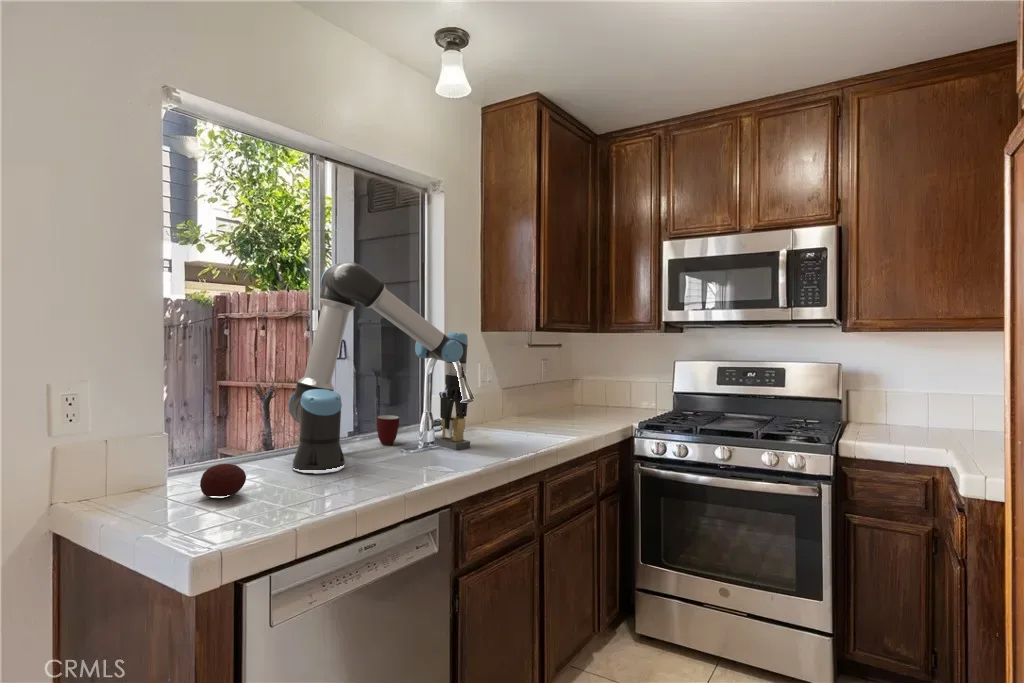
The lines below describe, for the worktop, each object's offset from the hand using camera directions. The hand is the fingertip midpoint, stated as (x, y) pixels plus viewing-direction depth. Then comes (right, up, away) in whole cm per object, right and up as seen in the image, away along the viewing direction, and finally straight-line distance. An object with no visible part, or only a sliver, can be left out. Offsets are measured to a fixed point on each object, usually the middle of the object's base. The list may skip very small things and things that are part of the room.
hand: (452, 436), depth 216 cm
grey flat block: (0, -4, 0) cm, 4 cm away
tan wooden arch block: (0, -3, 0) cm, 3 cm away
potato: (-51, -4, -69) cm, 86 cm away
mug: (-25, -3, -1) cm, 25 cm away
